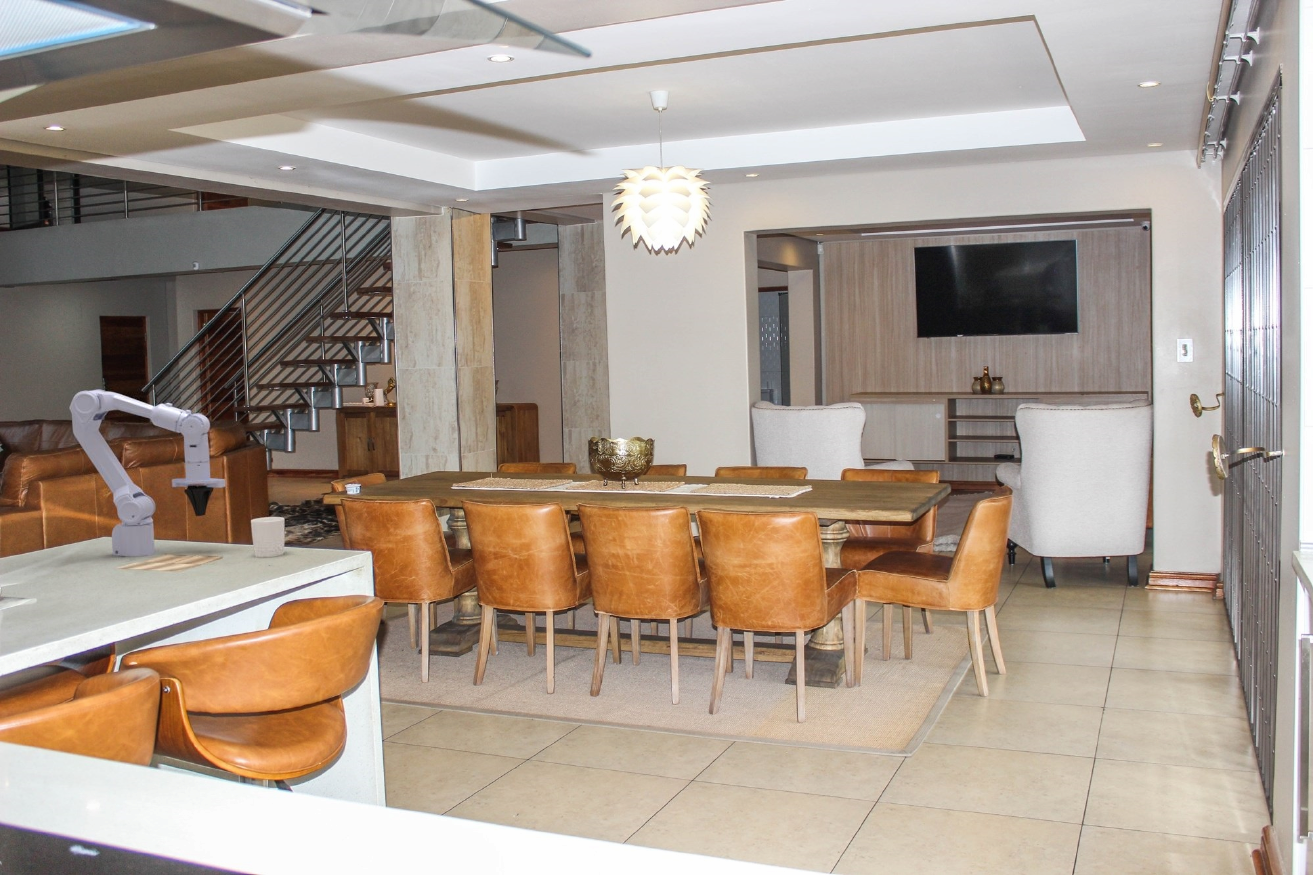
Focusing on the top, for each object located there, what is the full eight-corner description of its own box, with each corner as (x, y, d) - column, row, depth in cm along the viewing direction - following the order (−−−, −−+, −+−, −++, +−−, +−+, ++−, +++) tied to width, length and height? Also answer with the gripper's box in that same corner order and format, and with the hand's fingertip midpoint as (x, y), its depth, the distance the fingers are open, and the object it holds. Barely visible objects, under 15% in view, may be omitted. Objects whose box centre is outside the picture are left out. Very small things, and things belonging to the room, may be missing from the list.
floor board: (115, 573, 268) (114, 568, 268) (139, 566, 276) (139, 561, 276) (178, 576, 263) (178, 571, 263) (201, 569, 270) (201, 564, 270)
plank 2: (173, 567, 273) (172, 562, 273) (195, 560, 281) (195, 555, 281) (201, 569, 271) (200, 564, 271) (223, 561, 278) (222, 556, 278)
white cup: (291, 556, 286) (289, 516, 285) (278, 562, 278) (276, 521, 277) (261, 556, 287) (259, 516, 286) (247, 562, 279) (245, 521, 278)
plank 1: (144, 566, 276) (143, 561, 276) (167, 559, 283) (166, 554, 283) (171, 567, 273) (171, 562, 273) (194, 560, 281) (193, 555, 281)
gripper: (162, 463, 284) (165, 517, 286) (210, 463, 280) (214, 518, 281) (181, 460, 291) (184, 512, 292) (229, 460, 287) (232, 514, 288)
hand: (200, 515), depth 287 cm, fingers closed
